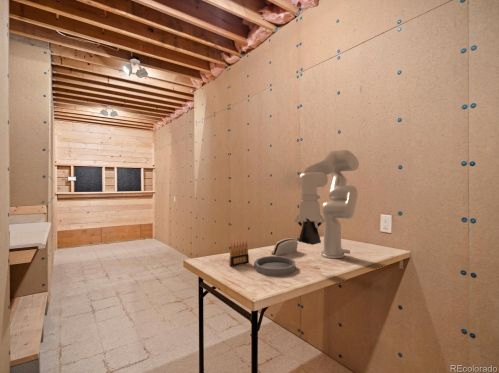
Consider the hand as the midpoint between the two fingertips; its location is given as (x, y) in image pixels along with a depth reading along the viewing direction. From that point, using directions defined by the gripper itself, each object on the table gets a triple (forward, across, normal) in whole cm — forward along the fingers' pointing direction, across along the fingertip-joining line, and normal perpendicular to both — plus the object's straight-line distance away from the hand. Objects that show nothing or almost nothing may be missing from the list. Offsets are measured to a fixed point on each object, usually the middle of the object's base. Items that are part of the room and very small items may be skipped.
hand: (309, 235), depth 124 cm
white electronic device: (+18, +14, -26) cm, 34 cm away
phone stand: (+4, 0, 0) cm, 4 cm away
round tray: (+17, +17, +2) cm, 24 cm away
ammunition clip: (+17, +36, 0) cm, 40 cm away
